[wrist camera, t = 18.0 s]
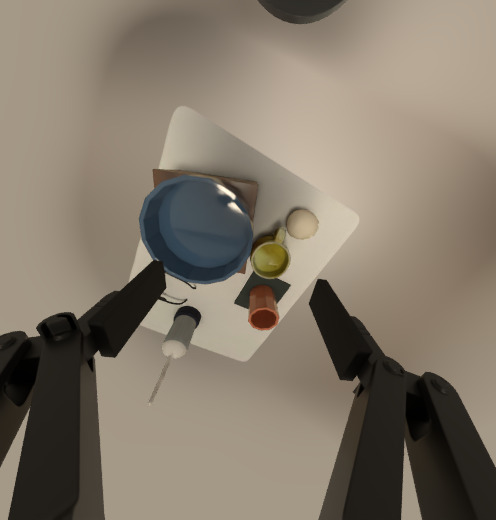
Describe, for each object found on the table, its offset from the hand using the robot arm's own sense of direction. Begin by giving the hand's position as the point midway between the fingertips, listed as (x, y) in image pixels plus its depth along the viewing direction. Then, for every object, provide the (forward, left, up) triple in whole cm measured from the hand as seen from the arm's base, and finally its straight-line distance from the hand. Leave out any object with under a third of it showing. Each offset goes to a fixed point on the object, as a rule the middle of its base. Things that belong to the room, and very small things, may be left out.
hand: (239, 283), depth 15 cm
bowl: (+8, +2, -20) cm, 22 cm away
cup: (-8, +24, -31) cm, 40 cm away
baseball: (-13, +1, -31) cm, 34 cm away
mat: (-8, +24, -31) cm, 40 cm away
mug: (-7, +8, -31) cm, 33 cm away
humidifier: (+15, +37, -31) cm, 50 cm away
